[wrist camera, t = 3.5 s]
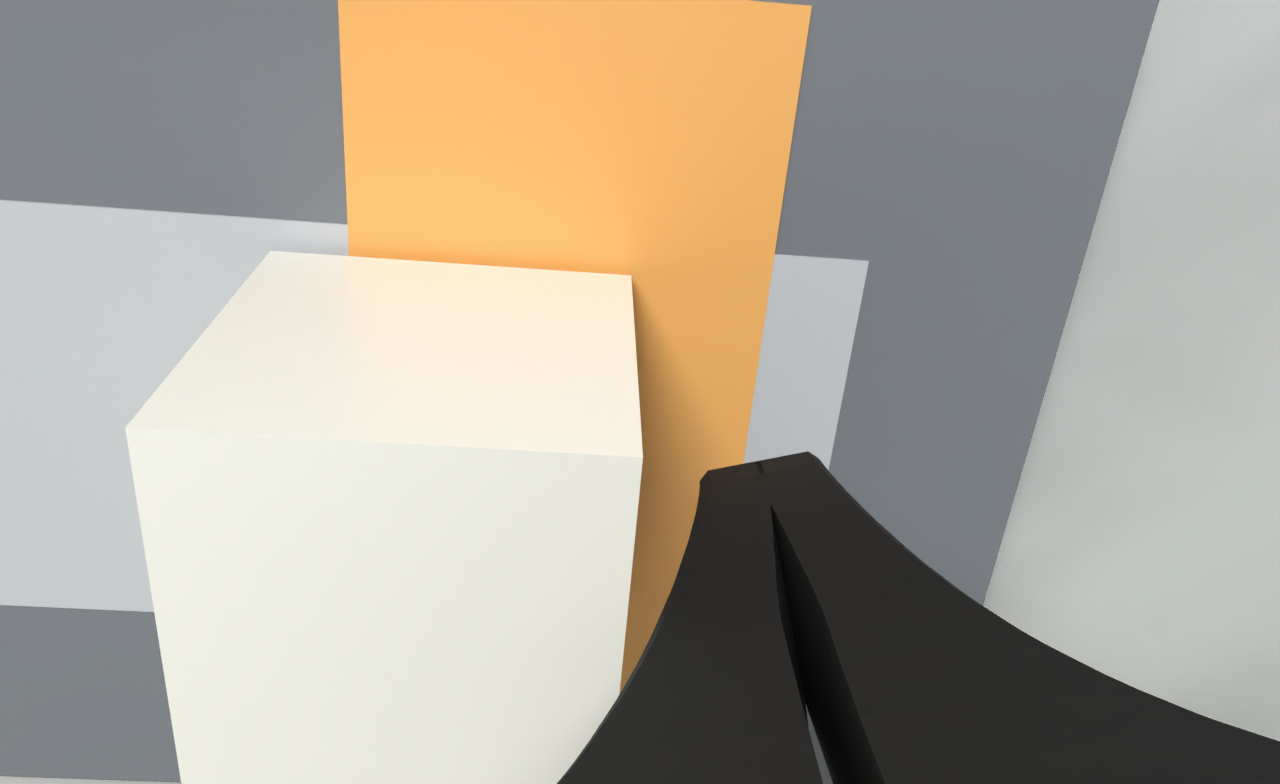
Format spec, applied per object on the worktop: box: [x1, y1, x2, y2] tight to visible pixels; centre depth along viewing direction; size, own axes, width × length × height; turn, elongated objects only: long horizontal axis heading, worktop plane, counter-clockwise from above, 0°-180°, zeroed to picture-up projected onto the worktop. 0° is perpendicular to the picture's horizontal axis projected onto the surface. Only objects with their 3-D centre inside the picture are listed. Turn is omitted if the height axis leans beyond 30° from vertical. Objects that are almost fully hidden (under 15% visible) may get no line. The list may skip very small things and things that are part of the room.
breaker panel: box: [0, 0, 1159, 784], centre depth 13 cm, size 17×12×1 cm
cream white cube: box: [125, 251, 643, 784], centre depth 11 cm, size 4×5×4 cm
